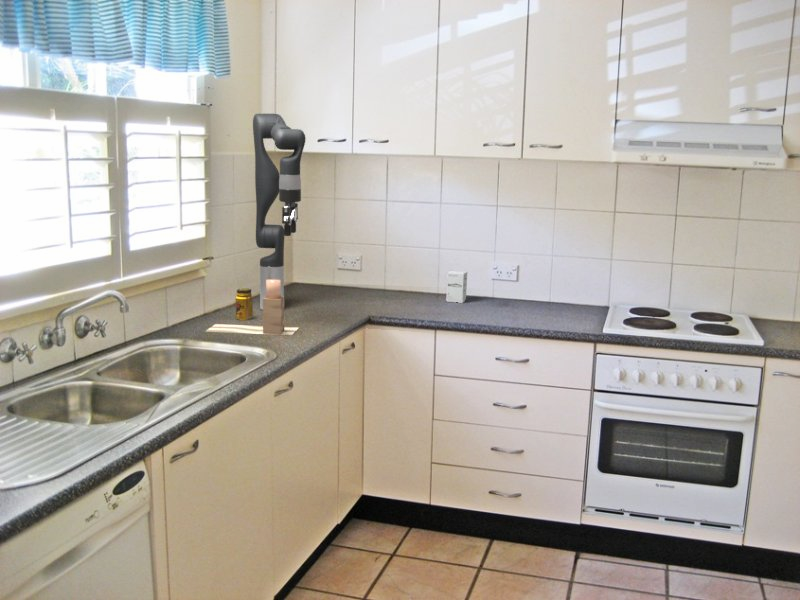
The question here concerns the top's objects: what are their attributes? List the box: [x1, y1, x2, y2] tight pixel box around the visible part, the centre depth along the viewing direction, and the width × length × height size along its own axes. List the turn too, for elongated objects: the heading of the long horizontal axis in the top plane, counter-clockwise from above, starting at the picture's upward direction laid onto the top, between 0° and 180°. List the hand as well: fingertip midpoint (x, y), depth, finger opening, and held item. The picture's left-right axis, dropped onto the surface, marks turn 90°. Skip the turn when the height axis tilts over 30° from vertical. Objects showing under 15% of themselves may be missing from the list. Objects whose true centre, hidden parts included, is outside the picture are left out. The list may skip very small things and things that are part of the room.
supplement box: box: [445, 270, 468, 304], centre depth 357 cm, size 7×7×13 cm
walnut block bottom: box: [262, 313, 285, 335], centre depth 288 cm, size 6×6×6 cm
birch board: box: [205, 323, 299, 336], centre depth 292 cm, size 12×30×1 cm, turn 85°
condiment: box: [235, 288, 254, 322], centre depth 308 cm, size 7×8×12 cm
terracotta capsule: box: [266, 279, 281, 299], centre depth 286 cm, size 5×5×6 cm
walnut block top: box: [262, 295, 285, 317], centre depth 287 cm, size 6×6×6 cm
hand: (290, 234), depth 295 cm, fingers open, 8 cm apart
